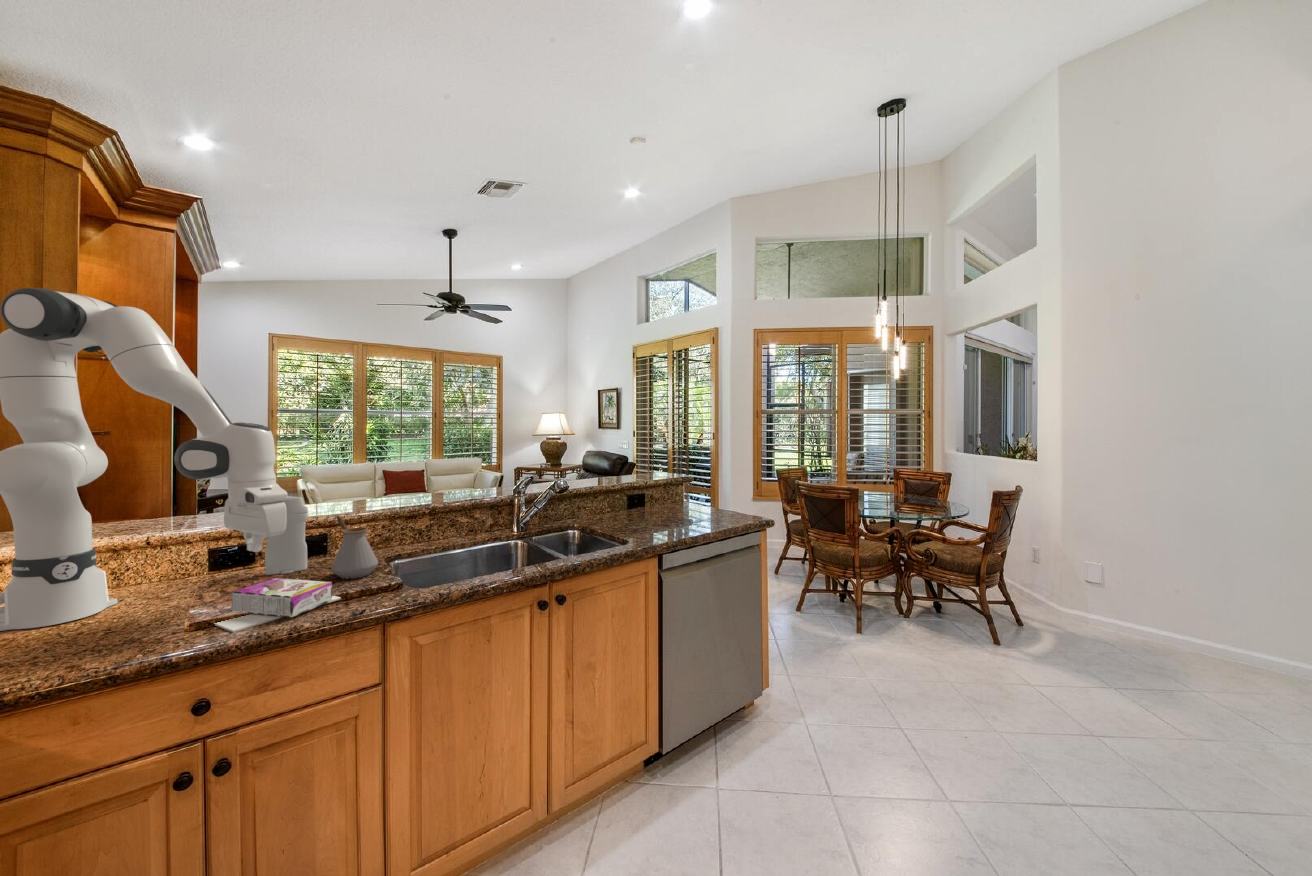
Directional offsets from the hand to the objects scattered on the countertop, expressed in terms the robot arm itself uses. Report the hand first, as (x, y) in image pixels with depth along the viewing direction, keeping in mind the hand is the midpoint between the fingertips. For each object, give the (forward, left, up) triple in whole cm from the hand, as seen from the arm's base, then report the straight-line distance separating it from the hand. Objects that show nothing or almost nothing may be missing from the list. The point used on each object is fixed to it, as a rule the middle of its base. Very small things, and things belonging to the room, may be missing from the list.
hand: (254, 550), depth 118 cm
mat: (+6, +1, -13) cm, 15 cm away
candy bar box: (-1, 0, -10) cm, 10 cm away
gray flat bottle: (-24, +18, -14) cm, 33 cm away
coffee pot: (-9, +27, -14) cm, 32 cm away
